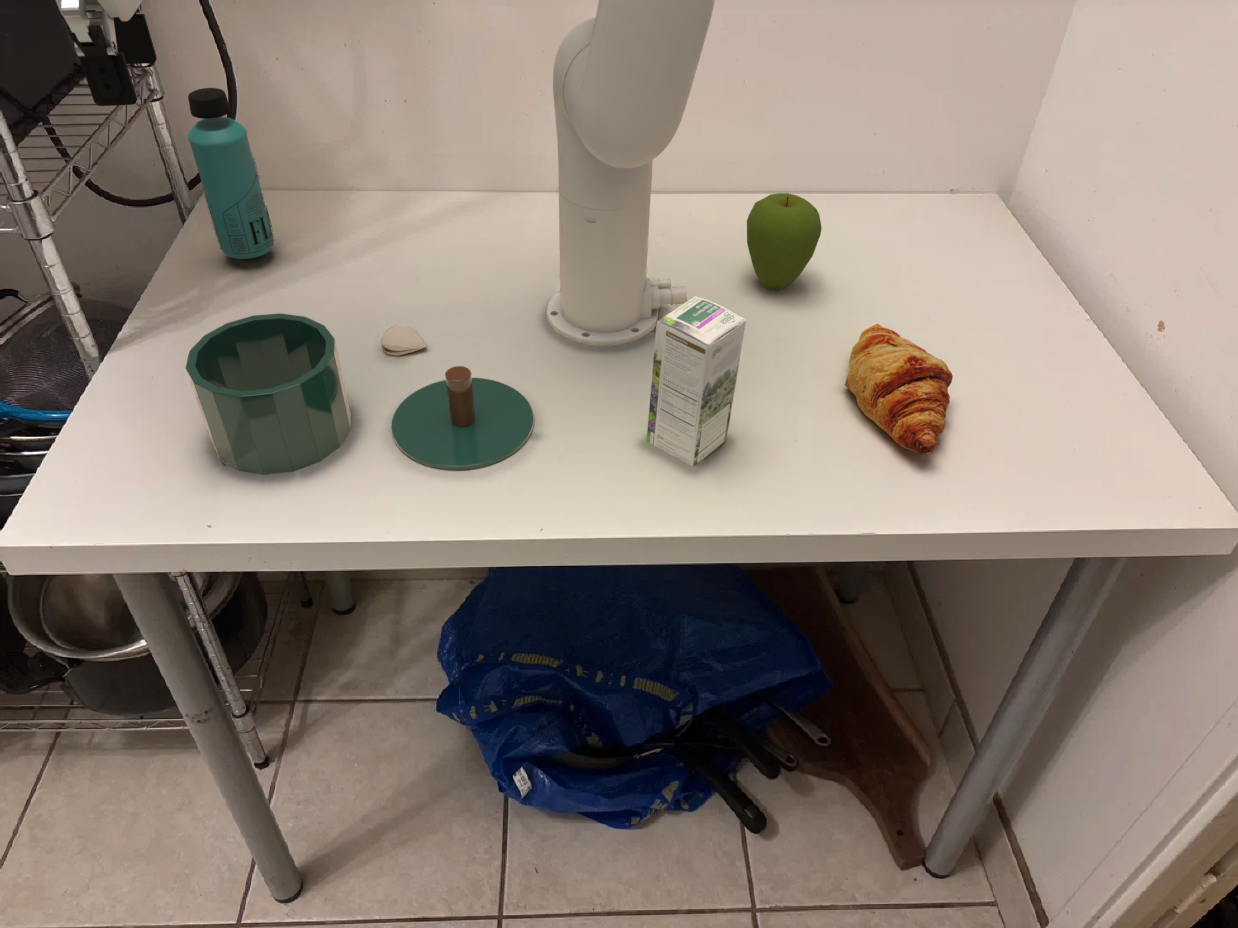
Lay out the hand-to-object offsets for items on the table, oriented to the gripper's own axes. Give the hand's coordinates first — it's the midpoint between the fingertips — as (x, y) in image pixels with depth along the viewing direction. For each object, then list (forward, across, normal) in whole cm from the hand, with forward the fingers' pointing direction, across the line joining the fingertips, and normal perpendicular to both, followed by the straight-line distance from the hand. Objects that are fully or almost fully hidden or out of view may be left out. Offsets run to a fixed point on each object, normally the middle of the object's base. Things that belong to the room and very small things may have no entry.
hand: (128, 82), depth 80 cm
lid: (+28, -16, -25) cm, 41 cm away
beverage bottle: (+29, +20, -2) cm, 35 cm away
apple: (+28, +5, -64) cm, 70 cm away
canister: (+28, -14, -8) cm, 33 cm away
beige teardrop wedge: (+28, -2, -20) cm, 35 cm away
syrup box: (+28, -22, -46) cm, 59 cm away
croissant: (+28, -19, -69) cm, 77 cm away
